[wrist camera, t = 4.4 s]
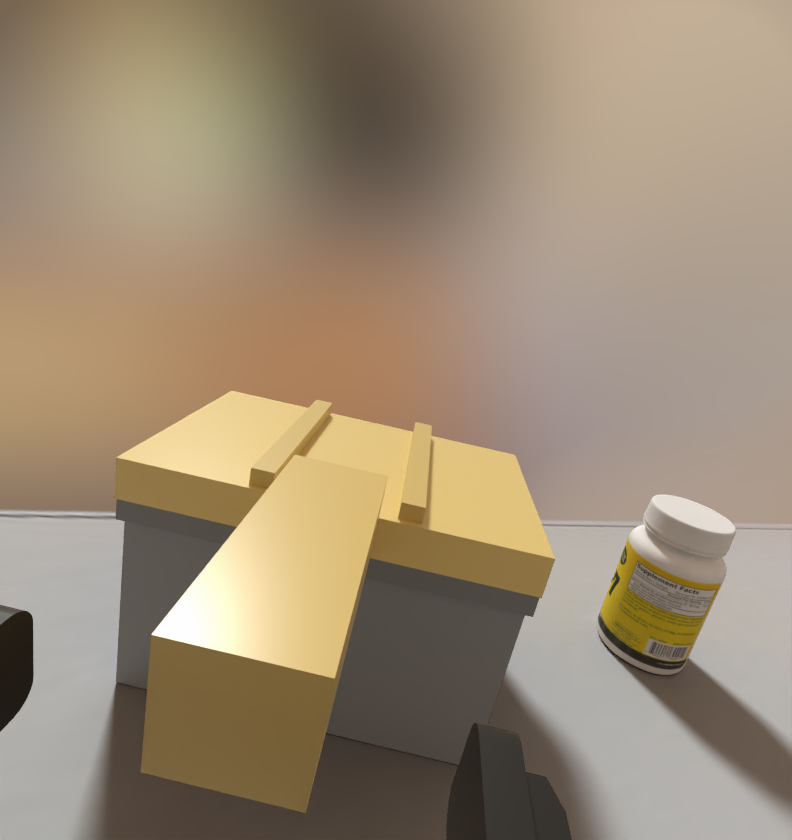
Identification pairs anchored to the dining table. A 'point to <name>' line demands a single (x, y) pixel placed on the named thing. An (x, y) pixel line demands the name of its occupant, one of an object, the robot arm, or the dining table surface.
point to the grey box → (369, 642)
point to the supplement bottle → (665, 584)
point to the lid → (302, 572)
